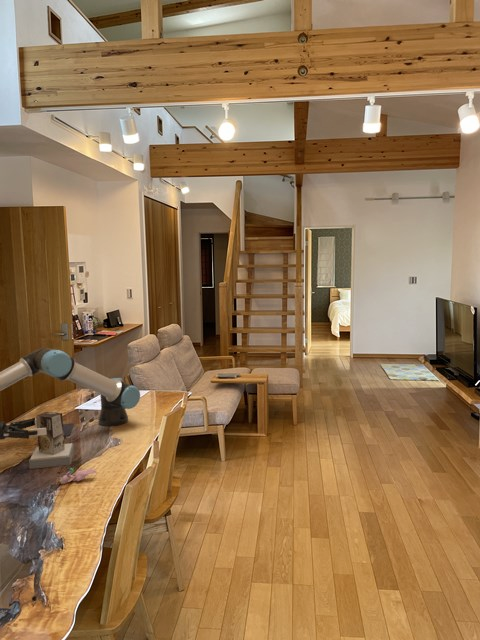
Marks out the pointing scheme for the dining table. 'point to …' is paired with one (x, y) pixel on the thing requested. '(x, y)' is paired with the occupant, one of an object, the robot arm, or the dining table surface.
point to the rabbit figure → (78, 475)
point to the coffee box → (51, 432)
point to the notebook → (68, 430)
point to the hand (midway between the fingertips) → (48, 426)
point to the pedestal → (51, 458)
